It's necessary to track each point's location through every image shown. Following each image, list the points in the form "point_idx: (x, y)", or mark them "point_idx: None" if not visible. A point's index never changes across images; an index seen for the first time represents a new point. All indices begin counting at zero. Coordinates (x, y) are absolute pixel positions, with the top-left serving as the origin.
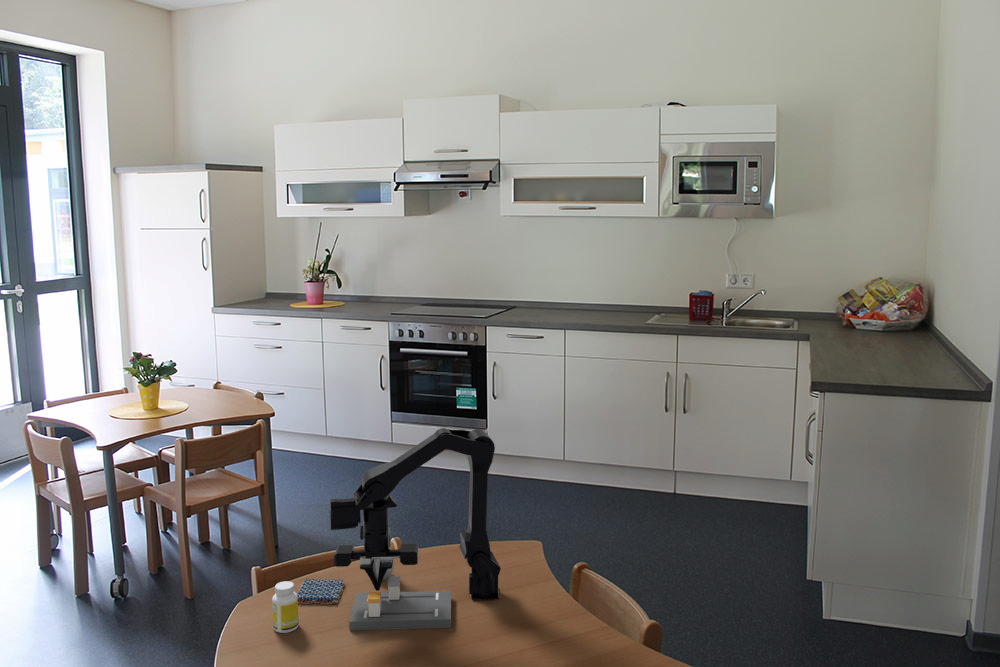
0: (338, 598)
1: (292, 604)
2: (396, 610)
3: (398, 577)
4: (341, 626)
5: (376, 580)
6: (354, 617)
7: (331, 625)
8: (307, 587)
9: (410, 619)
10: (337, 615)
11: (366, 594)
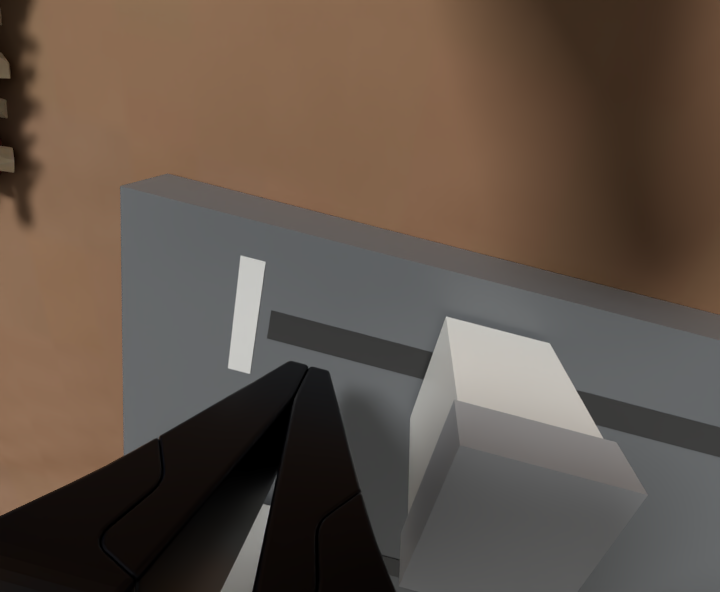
0: (4, 76)
1: None
2: None
3: (596, 524)
4: (108, 458)
5: (248, 514)
6: None
7: (50, 432)
8: None
9: None
10: (60, 341)
11: (220, 250)
